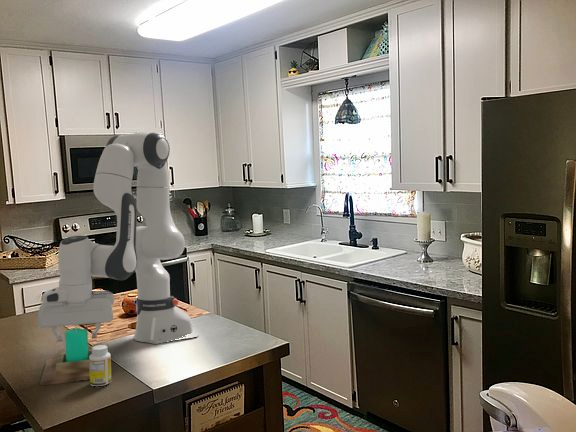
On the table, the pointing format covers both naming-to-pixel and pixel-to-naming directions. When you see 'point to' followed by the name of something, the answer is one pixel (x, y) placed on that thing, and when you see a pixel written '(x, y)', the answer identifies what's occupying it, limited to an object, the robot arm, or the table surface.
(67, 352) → the candle
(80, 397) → the table surface
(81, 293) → the robot arm
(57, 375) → the candle holder
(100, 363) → the supplement bottle
